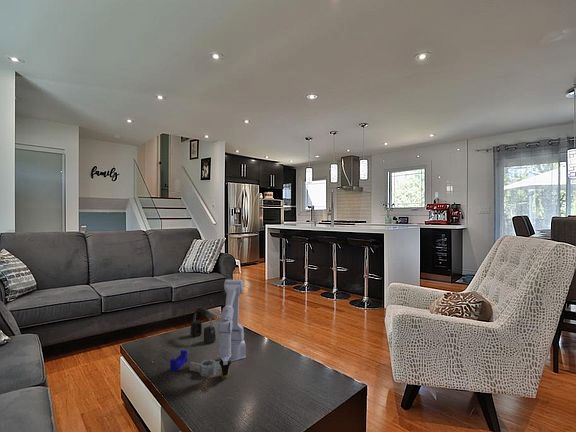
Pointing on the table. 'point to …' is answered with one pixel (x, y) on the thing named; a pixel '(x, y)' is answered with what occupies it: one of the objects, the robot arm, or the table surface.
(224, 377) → the brass pin
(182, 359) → the cable clip
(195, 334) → the headphones
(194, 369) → the steel hinge
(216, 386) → the table surface
